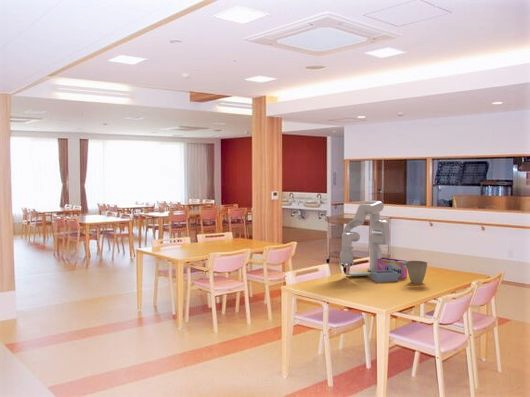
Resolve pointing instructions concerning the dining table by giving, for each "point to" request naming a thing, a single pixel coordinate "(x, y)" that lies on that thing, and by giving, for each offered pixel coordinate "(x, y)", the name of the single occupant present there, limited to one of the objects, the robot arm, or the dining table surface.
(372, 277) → the tub
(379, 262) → the gum box
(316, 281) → the dining table surface
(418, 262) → the plant pot
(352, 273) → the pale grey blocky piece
